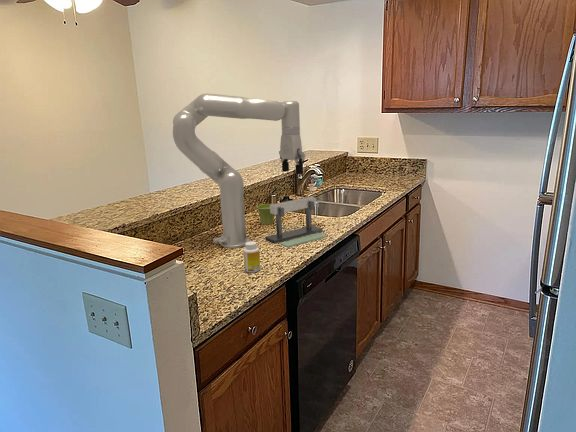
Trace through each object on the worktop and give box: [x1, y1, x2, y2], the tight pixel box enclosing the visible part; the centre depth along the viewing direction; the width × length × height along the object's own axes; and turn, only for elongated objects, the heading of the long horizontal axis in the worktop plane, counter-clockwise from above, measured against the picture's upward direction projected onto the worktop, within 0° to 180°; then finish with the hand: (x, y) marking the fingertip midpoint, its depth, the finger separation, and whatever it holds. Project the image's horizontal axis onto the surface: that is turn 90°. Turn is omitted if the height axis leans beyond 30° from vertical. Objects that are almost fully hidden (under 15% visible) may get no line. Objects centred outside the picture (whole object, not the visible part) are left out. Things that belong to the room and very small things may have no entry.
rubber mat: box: [279, 232, 328, 248], centre depth 188 cm, size 21×6×1 cm, turn 125°
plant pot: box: [256, 203, 275, 226], centre depth 216 cm, size 9×9×9 cm
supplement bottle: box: [242, 240, 261, 274], centre depth 157 cm, size 6×6×10 cm
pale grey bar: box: [270, 196, 317, 216], centre depth 192 cm, size 22×4×4 cm, turn 125°
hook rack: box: [264, 201, 323, 245], centre depth 194 cm, size 26×7×14 cm, turn 125°
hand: (292, 172), depth 188 cm, fingers open, 9 cm apart
